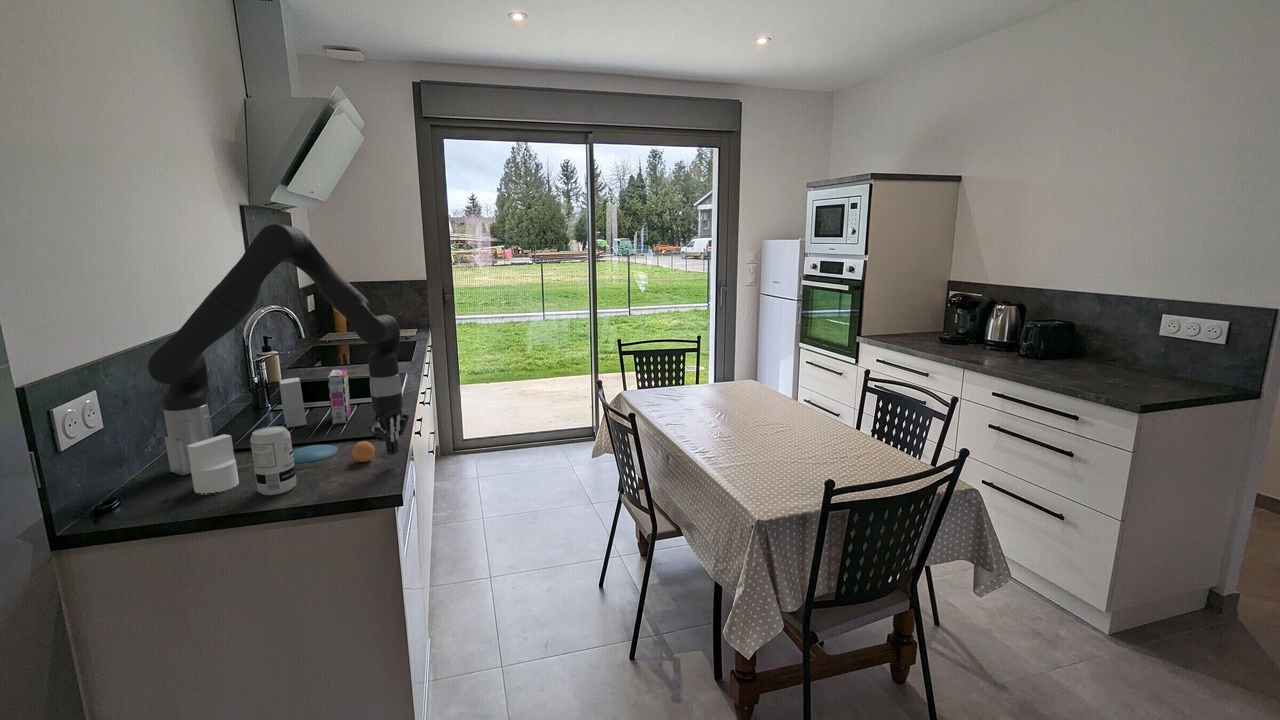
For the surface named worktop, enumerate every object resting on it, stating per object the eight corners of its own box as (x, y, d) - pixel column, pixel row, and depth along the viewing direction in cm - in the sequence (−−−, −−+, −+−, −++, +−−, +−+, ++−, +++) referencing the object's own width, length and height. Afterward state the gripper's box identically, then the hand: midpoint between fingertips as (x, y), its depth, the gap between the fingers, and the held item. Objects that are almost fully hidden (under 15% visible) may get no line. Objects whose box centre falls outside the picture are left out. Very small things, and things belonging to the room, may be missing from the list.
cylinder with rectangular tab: (223, 477, 151) (216, 432, 148) (247, 482, 147) (240, 437, 145) (185, 491, 142) (177, 444, 140) (210, 496, 139) (202, 448, 137)
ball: (362, 466, 157) (360, 446, 156) (348, 462, 160) (346, 443, 159) (380, 459, 162) (378, 440, 161) (366, 456, 165) (364, 437, 163)
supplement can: (254, 489, 143) (245, 430, 140) (291, 479, 149) (284, 423, 146) (262, 499, 138) (253, 438, 135) (301, 489, 143) (293, 430, 140)
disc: (302, 466, 157) (301, 465, 157) (271, 457, 164) (270, 457, 164) (348, 450, 169) (348, 449, 169) (318, 442, 176) (318, 441, 176)
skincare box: (307, 425, 192) (301, 381, 189) (285, 428, 189) (279, 383, 186) (304, 418, 199) (299, 376, 196) (284, 421, 196) (278, 378, 193)
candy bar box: (349, 423, 194) (343, 375, 191) (332, 425, 192) (326, 376, 189) (352, 414, 204) (347, 368, 201) (336, 415, 203) (331, 369, 199)
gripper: (392, 384, 161) (398, 444, 165) (355, 396, 149) (363, 461, 152) (415, 386, 159) (420, 446, 162) (379, 399, 147) (386, 464, 150)
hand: (392, 453), depth 157 cm, fingers closed
